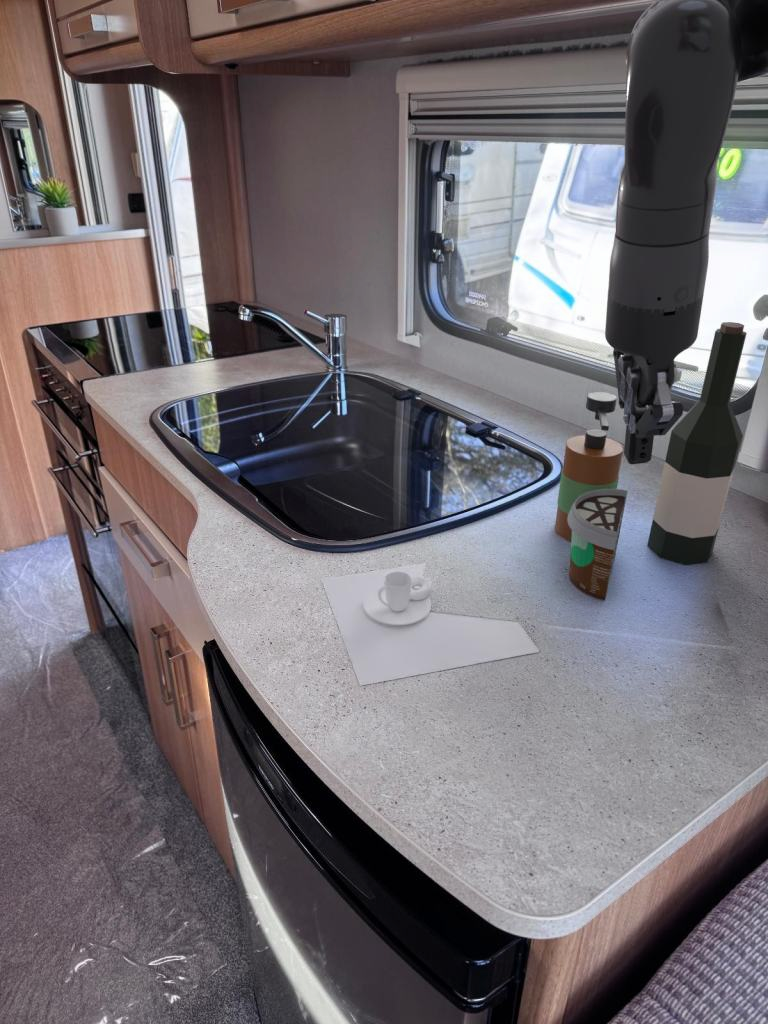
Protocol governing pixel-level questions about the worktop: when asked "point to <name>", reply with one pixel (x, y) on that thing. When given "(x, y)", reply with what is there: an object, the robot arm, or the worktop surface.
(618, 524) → the food container
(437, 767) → the worktop surface
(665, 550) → the wine bottle
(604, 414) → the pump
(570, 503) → the pump bottle
